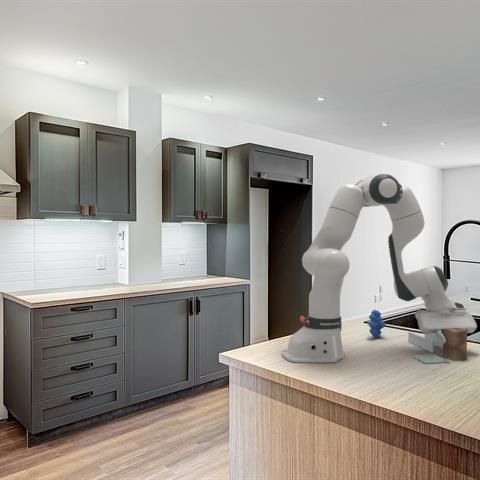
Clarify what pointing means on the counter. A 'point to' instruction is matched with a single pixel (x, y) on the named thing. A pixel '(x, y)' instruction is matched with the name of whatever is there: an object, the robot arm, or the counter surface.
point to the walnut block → (455, 344)
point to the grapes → (376, 323)
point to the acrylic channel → (425, 341)
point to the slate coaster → (430, 359)
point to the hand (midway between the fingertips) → (455, 342)
